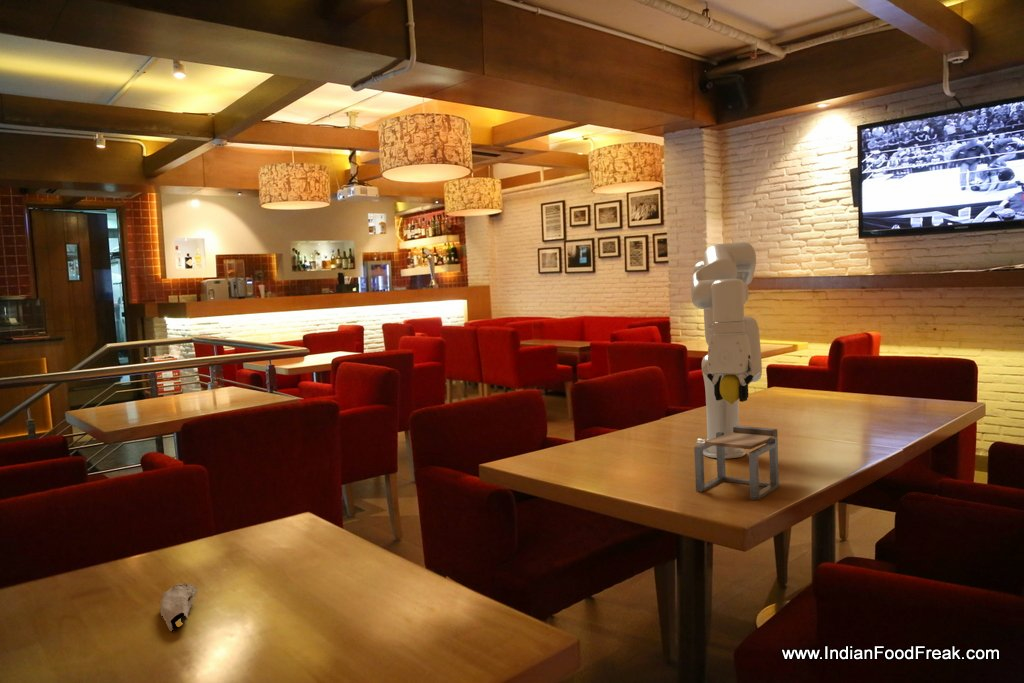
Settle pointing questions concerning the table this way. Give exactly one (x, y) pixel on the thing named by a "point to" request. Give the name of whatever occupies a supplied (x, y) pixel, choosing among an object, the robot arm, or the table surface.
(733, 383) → the lemon
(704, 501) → the table surface
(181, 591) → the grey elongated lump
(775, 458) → the frame
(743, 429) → the trapdoor
